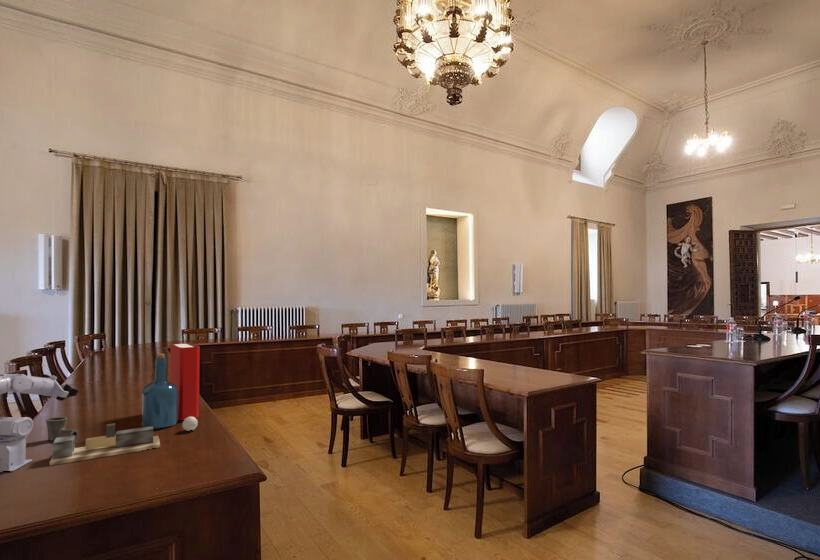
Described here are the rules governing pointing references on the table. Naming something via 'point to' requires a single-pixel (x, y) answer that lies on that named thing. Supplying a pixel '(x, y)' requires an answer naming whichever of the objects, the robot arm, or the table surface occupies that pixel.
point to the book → (186, 377)
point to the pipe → (59, 428)
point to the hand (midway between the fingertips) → (68, 388)
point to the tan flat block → (103, 439)
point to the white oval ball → (190, 423)
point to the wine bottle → (160, 399)
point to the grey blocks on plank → (124, 444)
